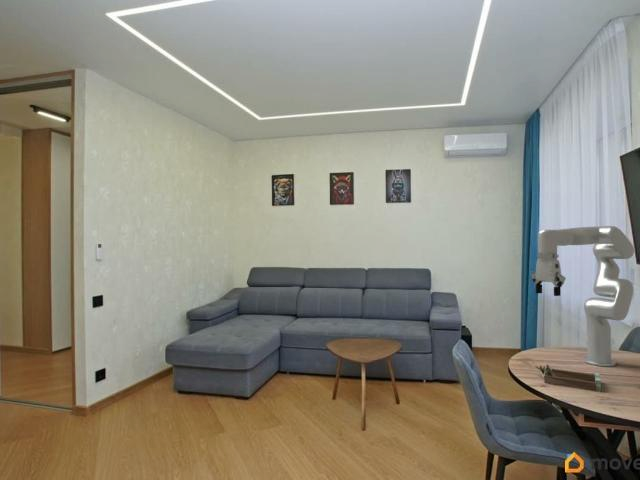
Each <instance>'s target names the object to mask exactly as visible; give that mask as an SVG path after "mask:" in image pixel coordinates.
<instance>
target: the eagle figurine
mask: <svg viewBox="0 0 640 480" xmlns="http://www.w3.org/2000/svg"><path fill="white" fill-rule="evenodd" d="M535 368H536V369H538V370H539V371H540V372H541V373H542V374H543V378H542V379H544V375H549V376H556V377H558V376H557V375H555V374H554V373H553V372H551V371H552V369H553V368H552V366H551V365H550V364H548V363H546V366H544V365H543V367H542V365H539V366H537V365H535Z"/></svg>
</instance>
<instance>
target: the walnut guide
mask: <svg viewBox="0 0 640 480" xmlns="http://www.w3.org/2000/svg"><path fill="white" fill-rule="evenodd" d="M551 369H552V371H551V372H553V373H554V374H555V375H557V376H558V377H556V376H549V375H543V376H544V380H543V381H544V383H545V384H549V385H556V386H563V387H568V388H569V387H570V388H576V389H581V390H588V391H595V392H602V385H601V384H602V383H601V376H600V372H596V371H595V372H594V373H588V372H587V373H586V372H581V371H572V370H565V369H558V368H551Z"/></svg>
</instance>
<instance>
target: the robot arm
mask: <svg viewBox="0 0 640 480" xmlns="http://www.w3.org/2000/svg"><path fill="white" fill-rule="evenodd" d="M628 238H629V237H627V236H626V234H625V233H624V232H623V231H622V230H621V229H620V228H618V227H617V226H614V225H606V226H604V225H602V226H583V227H581V226H579V227H570V228H562V229H558V228H557V229H541V230H539V231H538V233H537V250H538V251H537V260H536V267H535V272H534V273H532V274H531V275H530V276H531V278H532V281H533V283H534V285H535V294H542V293H543V284H542V283H543V282H546V283H552V284H553V296H554V297H560V296H561V290H562V287H563V285H564V284H565V282H566V280H567V279H566V276H565V275H562V270H561V263H560V260H558V258H559V257H560V256H559V254H558V247H563V246H564V247H566V246H586V245H587V246H588V245H593V247H592V252H593V253H592V254H593V256H594V257H595V259H596V262H597V264H598V271H597V274H596V277H595V280H594V283H593V287H592V289H593V292H594V294H595V295H596V296H599V297H589V298H587V299H586V300H585V301H584V303H583V310H584V314H585V318H586V338H587V339H586V340H587V341H586V345H587V346H586V347H587V348H586V349H587V351H586V352H587V356H585V357H584V358H583V361H584V363H587V364H589V365H593V366H597V367H614V366H616V361H615V360H613V359H612V327H611V324H610V322H609V320H612V321H618V322H619V321H624V320H625V319H626V318H627V316H628V313H629V311H630V307H631V304H632V300H633V296H634V292H635V291H634V284H633V283H632V282H631V281H630V280H628V279H627V278H619V276H620V272H621V271H620V267H619V264H617V262H616V261H615V260H629V259H630V258H632V257H633V256H634V254H635V248H634V245H633V243H632V242H631V241H630V239H628ZM612 298H613V299H612Z"/></svg>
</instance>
